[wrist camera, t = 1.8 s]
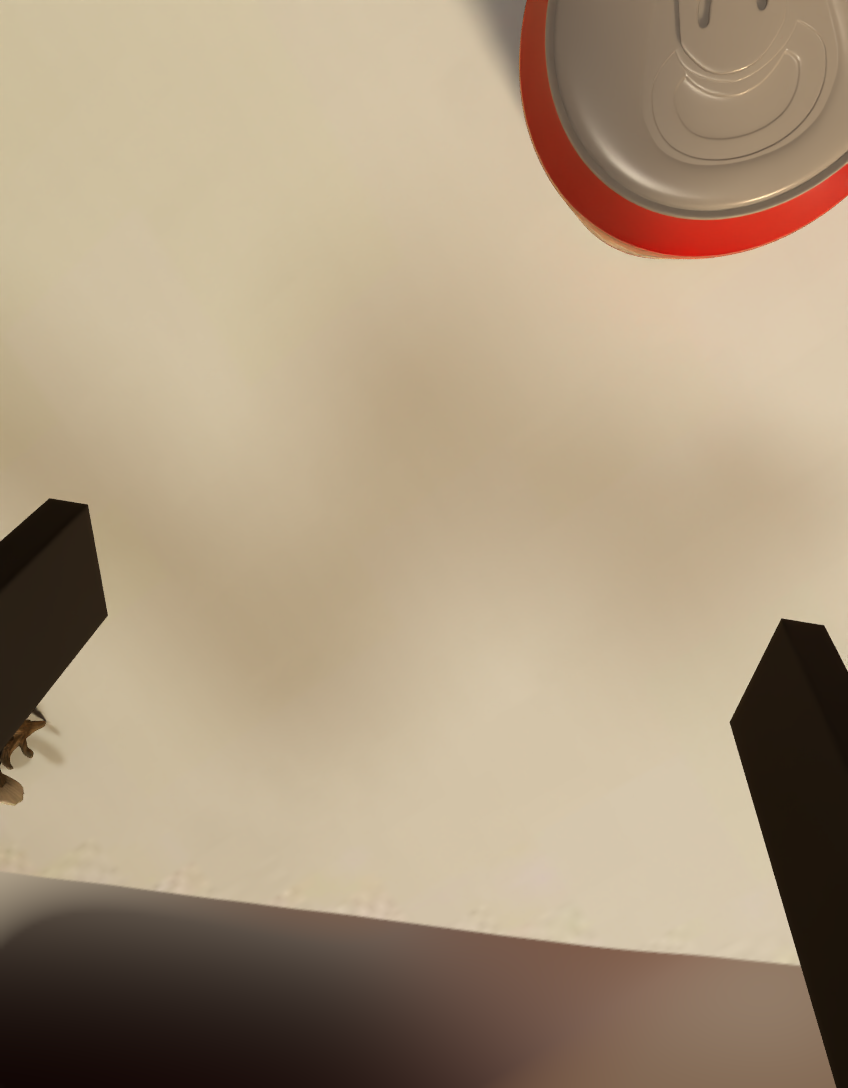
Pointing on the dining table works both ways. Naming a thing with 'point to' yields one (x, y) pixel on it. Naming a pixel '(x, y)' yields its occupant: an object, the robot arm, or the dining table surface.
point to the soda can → (689, 117)
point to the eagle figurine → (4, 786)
